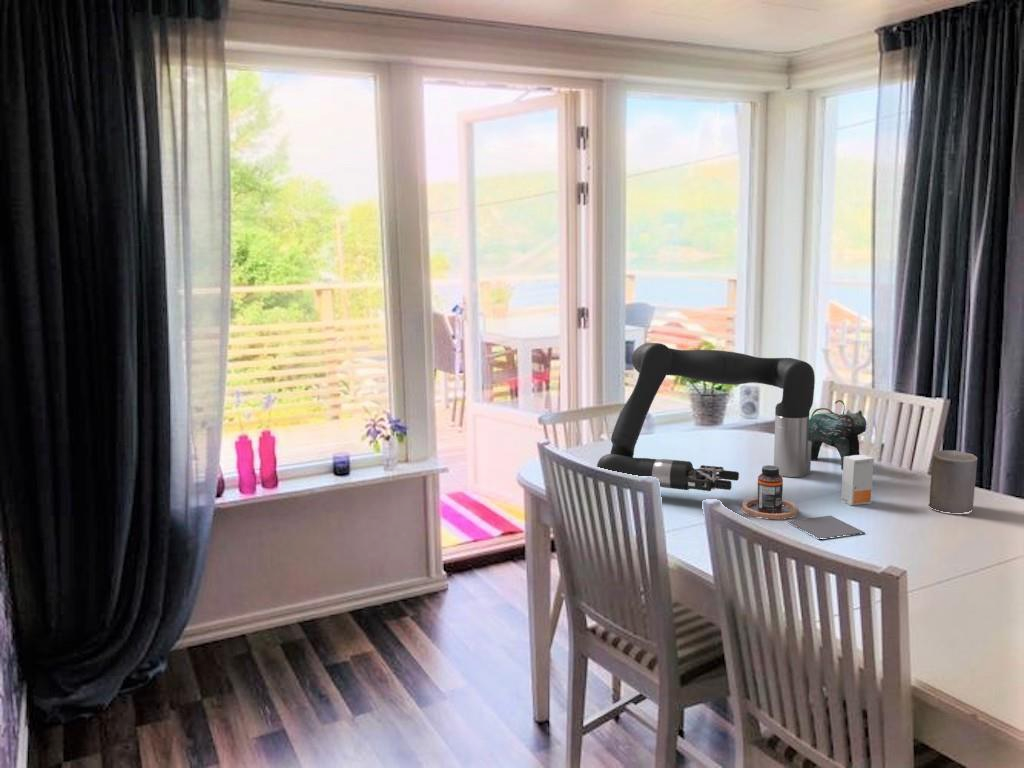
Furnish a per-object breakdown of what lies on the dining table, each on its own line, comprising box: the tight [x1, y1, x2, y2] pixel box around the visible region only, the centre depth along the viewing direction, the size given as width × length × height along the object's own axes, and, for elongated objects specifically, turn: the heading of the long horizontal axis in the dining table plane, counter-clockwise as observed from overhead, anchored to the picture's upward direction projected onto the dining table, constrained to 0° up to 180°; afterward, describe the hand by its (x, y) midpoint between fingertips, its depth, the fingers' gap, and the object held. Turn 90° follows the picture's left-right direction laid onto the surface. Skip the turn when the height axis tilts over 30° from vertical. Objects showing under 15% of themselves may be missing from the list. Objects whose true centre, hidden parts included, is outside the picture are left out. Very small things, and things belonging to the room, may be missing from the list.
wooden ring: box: [741, 498, 799, 520], centre depth 199 cm, size 13×13×1 cm
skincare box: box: [840, 454, 875, 506], centre depth 202 cm, size 6×4×12 cm
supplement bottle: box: [756, 464, 784, 514], centre depth 198 cm, size 6×6×11 cm
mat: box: [787, 515, 865, 539], centre depth 186 cm, size 12×12×1 cm
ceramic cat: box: [808, 399, 867, 471], centre depth 235 cm, size 20×6×20 cm, turn 25°
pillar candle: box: [928, 449, 978, 513], centre depth 195 cm, size 10×10×15 cm
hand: (735, 480), depth 201 cm, fingers open, 8 cm apart
